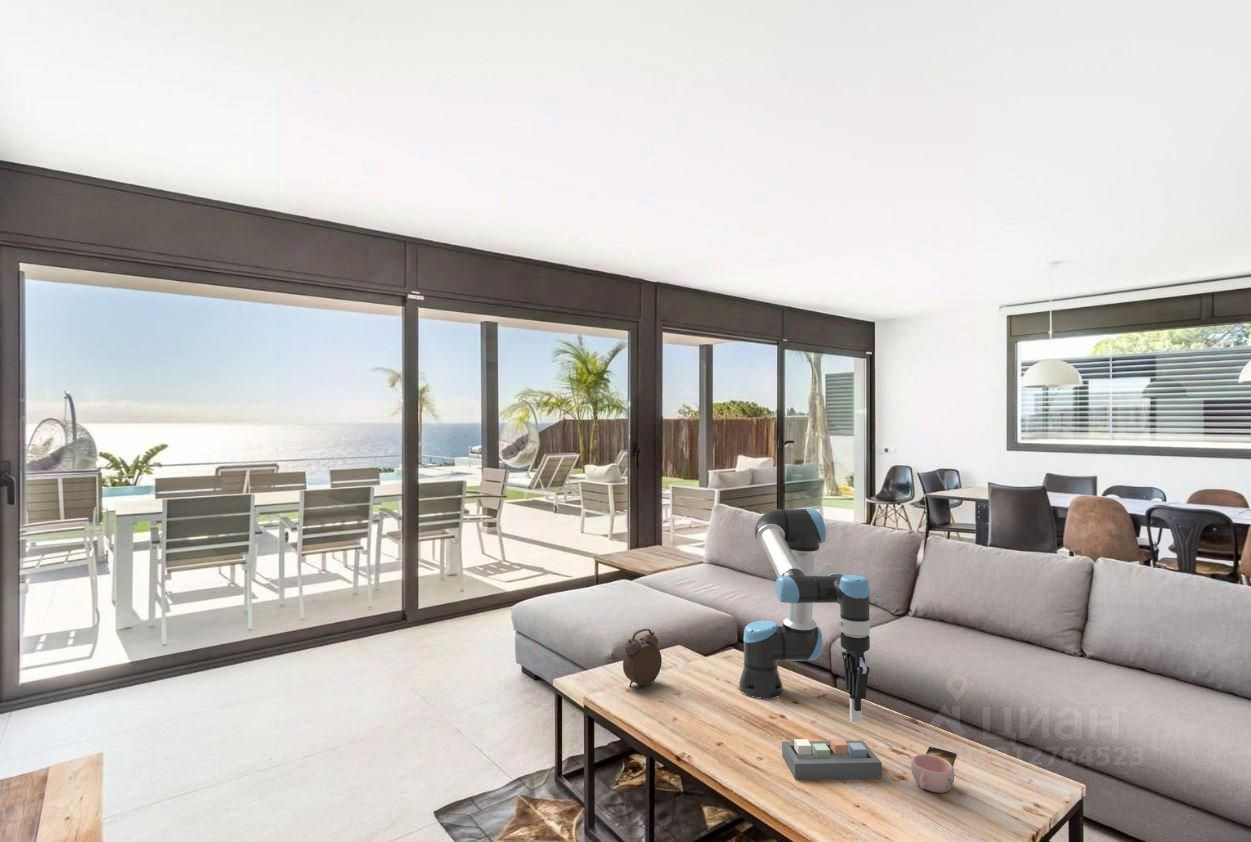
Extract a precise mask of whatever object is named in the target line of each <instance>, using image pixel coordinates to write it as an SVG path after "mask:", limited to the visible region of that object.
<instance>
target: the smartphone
mask: <svg viewBox="0 0 1251 842" xmlns="http://www.w3.org/2000/svg"><path fill="white" fill-rule="evenodd" d="M925 754H927V755H933V756H937V757H940V758H942V759H944V760H946V761H948V762H949V763H950V764H951V765H952V767H953V765H954V762H955V760H956V758H957V753H956V752H953V751H948V750H945V749H941V748H938V747H934V746H929V747H928V749H927V750H926V753H925Z"/></svg>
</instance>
